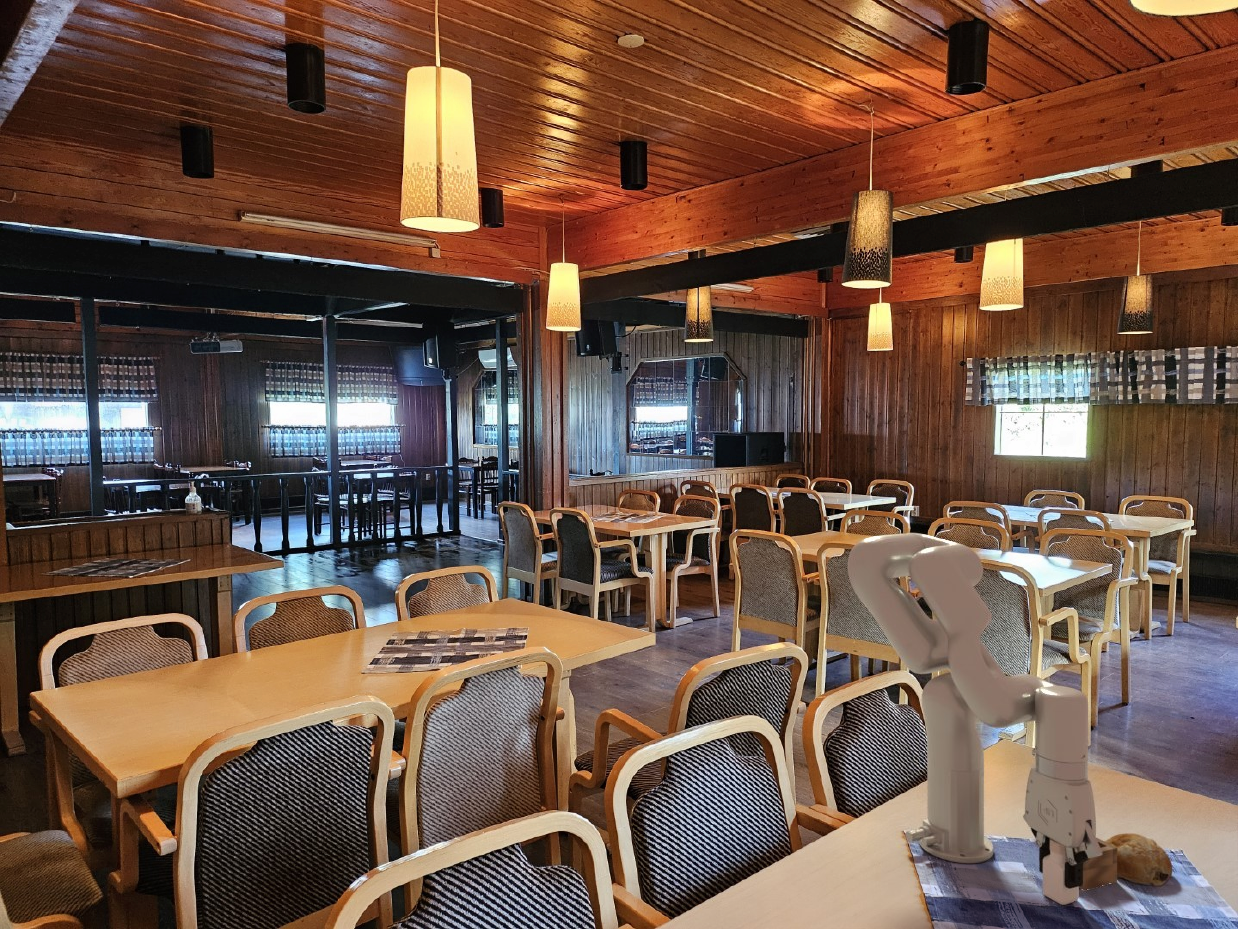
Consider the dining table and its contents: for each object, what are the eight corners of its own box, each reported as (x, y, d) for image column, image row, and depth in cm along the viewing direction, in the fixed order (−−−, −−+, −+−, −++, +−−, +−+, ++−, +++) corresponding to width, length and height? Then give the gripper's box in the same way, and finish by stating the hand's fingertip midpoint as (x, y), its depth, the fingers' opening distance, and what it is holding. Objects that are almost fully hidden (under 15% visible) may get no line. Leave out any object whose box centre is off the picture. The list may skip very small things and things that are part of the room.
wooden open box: (1083, 892, 136) (1083, 856, 136) (1046, 870, 143) (1046, 836, 143) (1117, 883, 138) (1117, 848, 138) (1078, 862, 145) (1078, 828, 145)
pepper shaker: (1062, 907, 131) (1063, 847, 131) (1040, 895, 135) (1041, 837, 135) (1080, 901, 133) (1080, 842, 132) (1058, 889, 136) (1058, 832, 136)
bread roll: (1135, 909, 137) (1157, 875, 134) (1082, 858, 145) (1101, 825, 142) (1170, 893, 142) (1192, 860, 138) (1116, 845, 150) (1136, 812, 146)
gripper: (1002, 751, 140) (1001, 859, 140) (1089, 789, 124) (1088, 911, 124) (1036, 745, 142) (1036, 851, 143) (1126, 782, 127) (1125, 901, 127)
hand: (1060, 877), depth 134 cm, fingers closed on pepper shaker, 4 cm apart
